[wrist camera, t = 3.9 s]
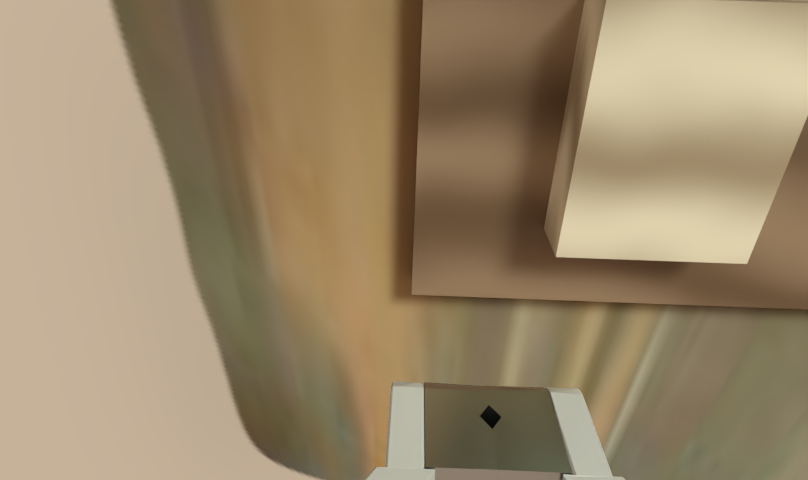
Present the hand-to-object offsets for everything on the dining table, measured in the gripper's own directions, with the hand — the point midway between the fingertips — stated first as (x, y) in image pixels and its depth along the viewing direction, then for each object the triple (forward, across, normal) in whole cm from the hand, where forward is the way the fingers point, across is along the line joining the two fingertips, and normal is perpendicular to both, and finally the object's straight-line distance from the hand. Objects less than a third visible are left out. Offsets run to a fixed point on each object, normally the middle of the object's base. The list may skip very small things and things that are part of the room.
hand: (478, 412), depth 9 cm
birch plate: (+15, -9, 0) cm, 18 cm away
